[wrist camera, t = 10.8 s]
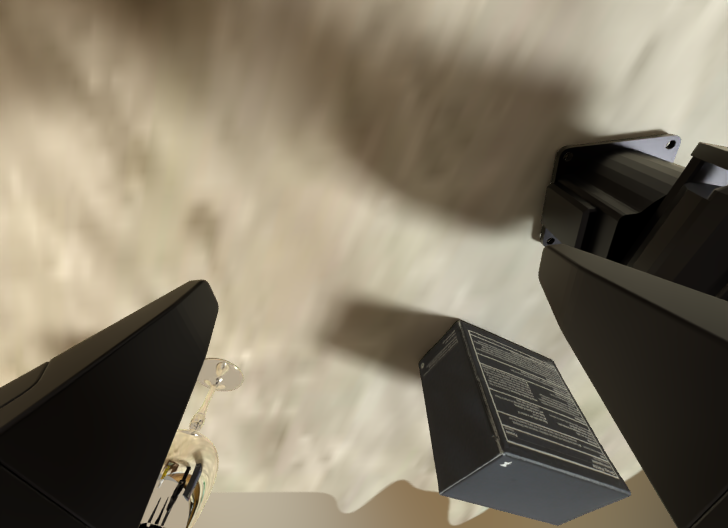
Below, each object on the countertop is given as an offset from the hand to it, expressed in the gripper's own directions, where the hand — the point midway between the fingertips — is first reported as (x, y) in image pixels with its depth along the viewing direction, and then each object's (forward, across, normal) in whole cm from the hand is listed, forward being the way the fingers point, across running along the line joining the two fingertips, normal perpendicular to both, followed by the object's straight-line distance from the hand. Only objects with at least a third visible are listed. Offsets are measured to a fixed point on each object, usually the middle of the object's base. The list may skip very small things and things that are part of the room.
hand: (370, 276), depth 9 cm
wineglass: (+13, +16, +18) cm, 27 cm away
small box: (+13, -8, +19) cm, 24 cm away
